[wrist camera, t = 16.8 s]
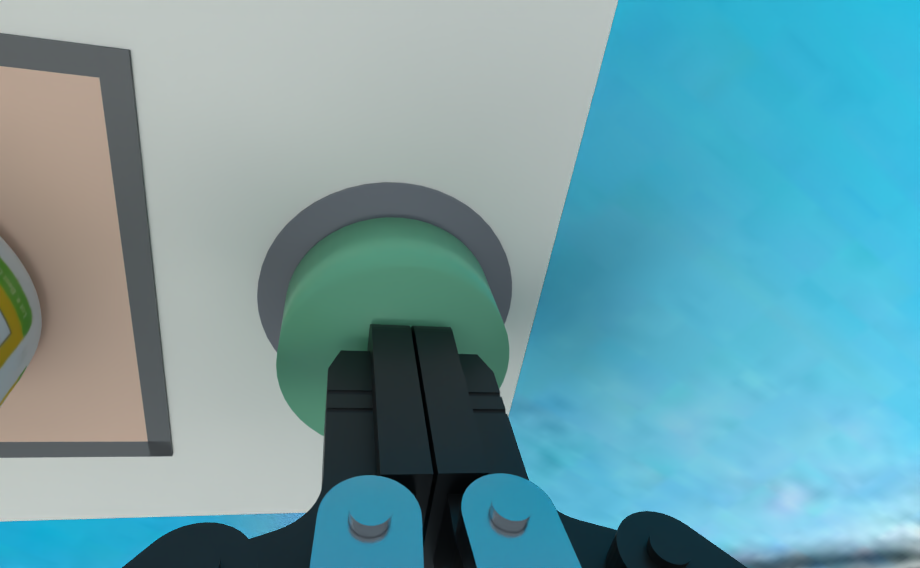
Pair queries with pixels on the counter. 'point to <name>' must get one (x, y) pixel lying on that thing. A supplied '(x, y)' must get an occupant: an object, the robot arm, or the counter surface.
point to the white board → (250, 214)
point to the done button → (381, 303)
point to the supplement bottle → (16, 320)
